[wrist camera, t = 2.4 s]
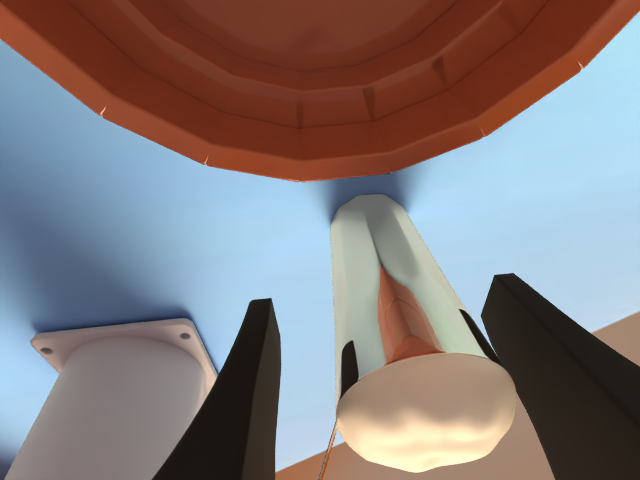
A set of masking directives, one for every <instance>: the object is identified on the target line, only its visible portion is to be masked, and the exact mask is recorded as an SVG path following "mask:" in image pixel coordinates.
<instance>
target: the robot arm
mask: <svg viewBox="0 0 640 480" xmlns="http://www.w3.org/2000/svg"><path fill="white" fill-rule="evenodd" d="M481 318H482V321H483V324H484V326H485V329H486V332H487V334H488V337H489V340H490V342H491V345H492V347H493V349H494V351H495V353H496V354H497V356H498V358H499V360H500V361H501V363H502V364H503V366H504V367H505V369H506V371H507V372H508V374H509V375H510V376H511V378H512V380H513V382H514V385H515V388H516V392H517V394H518V396H519V398H520V400H521V402H522V403H523V405H524V407H525V409H526V411H527V413H528V415H529V417H530V419H531V421H532V423H533V426H534V428H535V430H536V433H537V435H538V437H539V440H540V442H541V445H542V447H543V449H544V452H545V454H546V457H547V459H548V462H549V465H550V467H551V469H552V472H553V475H554V477H555V480H640V367H639V366H638V365H636V364H635V363H633V362H631V361H630V360H628V359H627V358H625V357H624V356H622V355H621V354H619V353H618V352H616V351H615V350H613V349H612V348H610V347H609V346H608V345H606V344H605V343H604V342H602V341H601V340H599V339H598V338H596V337H595V336H594V335H592V334H591V333H589V332H588V331H587V330H585V329H584V328H583V327H581V326H580V325H579V324H577V323H576V322H575V321H573V320H572V319H571V318H569V317H568V316H567V315H566V314H564V313H563V312H562V311H560V310H559V309H558V308H557V307H555V306H554V305H553V304H552V303H550V302H549V301H548V300H547V299H545V298H544V297H543V296H541V295H540V294H539V293H538V292H536V291H535V290H534V289H533V288H532V287H530V286H529V285H528V284H527V283H525V282H524V281H523V280H521V279H520V278H519V277H518V276H516V275H515V274H514V273H510V274H500V275H494V278H493V281H492V284H491V287H490V290H489V293H488V296H487V299H486V301H485V304H484V307H483V310H482V313H481ZM30 343H31V345H32V346H33V347H34V348H35V349H36V350H37V351H38V352H39V353H40V354H41V355H42V356H43V357H44V358H45V359H46V360H47V361H48V362H49V363H50V364H51V365H52V366H53V367H54V368H55V369H56V371H57V372H58V373H59V374H60V375H59V377H58V378H57V380H56V382H55V384H54V386H53V388H52V390H51V392H50V394H49V396H48V397H47V399H46V401H45V403H44V405H43V407H42V409H41V411H40V413H39V414H38V416H37V418H36V420H35V422H34V424H33V426H32V428H31V430H30V431H29V433H28V435H27V437H26V439H25V441H24V443H23V445H22V447H21V449H20V450H19V452H18V454H17V456H16V458H15V460H14V462H13V464H12V466H11V467H10V469H9V471H8V473H7V475H6V477H5V479H4V480H275V441H276V427H277V414H278V401H279V389H280V376H281V343H280V333H279V329H278V325H277V320H276V316H275V312H274V308H273V303H272V299H271V298H268V299H258V300H252V301H251V302H250V303H249V306H248V309H247V312H246V315H245V318H244V320H243V323H242V325H241V328H240V330H239V333H238V335H237V337H236V340H235V342H234V344H233V346H232V349H231V351H230V353H229V355H228V357H227V359H226V361H225V363H224V366H223V368H222V369H221V371H220V373H219V375H217V372H216V370H215V368H214V366H213V364H212V362H211V360H210V358H209V356H208V353H207V351H206V349H205V347H204V345H203V343H202V341H201V339H200V336H199V334H198V332H197V330H196V328H195V326H194V324H193V322H192V321H191V320H189V319H186V318H177V319H167V320H158V321H148V322H139V323H129V324H120V325H111V326H101V327H92V328H82V329H73V330H63V331H54V332H44V333H38V334H35V335H34V336H33V338H32V339H31V341H30Z"/></svg>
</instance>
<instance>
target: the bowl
mask: <svg viewBox="0 0 640 480" xmlns="http://www.w3.org/2000/svg"><path fill="white" fill-rule="evenodd" d="M639 11H640V0H0V39H1V40H2V41H3V42H5V43H6V44H7V45H9V46H10V47H11V48H12V49H14V50H15V51H16V52H18V53H19V54H20V55H22V56H23V57H24V58H25V59H27V60H28V61H29V62H31V63H32V64H33V65H34V66H36V67H37V68H38V69H40V70H41V71H42V72H44V73H45V74H46V75H47V76H49V77H50V78H51V79H53V80H54V81H55V82H56V83H58V84H59V85H60V86H62V87H63V88H64V89H66V90H67V91H68V92H69V93H71V94H72V95H73V96H75V97H76V98H77V99H78V100H80V101H81V102H82V103H84V104H85V105H86V106H88V107H89V108H90V109H91V110H93V111H94V112H95V113H97V114H98V115H100V116H101V115H102V116H103V118H104V119H106V120H108V121H110V122H113V123H115V124H117V125H119V126H121V127H123V128H126V129H128V130H130V131H132V132H134V133H136V134H138V135H141V136H143V137H145V138H147V139H149V140H151V141H154V142H156V143H158V144H160V145H162V146H164V147H166V148H169V149H171V150H173V151H175V152H177V153H179V154H182V155H184V156H186V157H188V158H190V159H192V160H194V161H197V162H199V163H201V164H203V165H206V164H207V166H210V167H216V168H221V169H227V170H233V171H238V172H244V173H250V174H255V175H261V176H266V177H272V178H278V179H283V180H289V181H295V182H300V181H301V182H312V181H322V180H332V179H342V178H351V177H361V176H371V175H381V174H390V173H391V172H397V171H399V170H402V169H404V168H407V167H410V166H412V165H415V164H417V163H420V162H423V161H425V160H428V159H430V158H433V157H436V156H438V155H441V154H443V153H446V152H449V151H451V150H454V149H456V148H459V147H462V146H464V145H467V144H469V143H472V142H475V141H477V140H480V139H482V137H486V136H488V135H489V134H491V133H492V132H493V131H495V130H496V129H498V128H499V127H501V126H502V125H504V124H505V123H507V122H508V121H509V120H511V119H512V118H514V117H515V116H517V115H518V114H520V113H521V112H523V111H524V110H525V109H527V108H528V107H530V106H531V105H533V104H534V103H536V102H537V101H539V100H540V99H541V98H543V97H544V96H546V95H547V94H549V93H550V92H552V91H553V90H555V89H556V88H557V87H559V86H560V85H562V84H563V83H565V82H566V81H568V80H569V79H570V78H572V77H573V76H575V75H576V74H578V73H579V72H580V71H581V69H583V68H585V67H586V66H587V65H588V64H589V63H590V62H591V61H592V60H593V59H594V58H595V57H596V55H597V54H598V53H599V52H600V51H601V50H602V49H603V48H604V47H605V46H606V45H607V44H608V43H609V42H610V41H611V40H612V39H613V38H614V37H615V36H616V35H617V34H618V33H619V32H620V31H621V30H622V29H623V28H624V27H625V26H626V25H627V24H628V23H629V22H630V20H631V19H632V18H633V17H634V16H635V15H636V14H637V13H638V12H639Z"/></svg>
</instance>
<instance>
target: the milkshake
mask: <svg viewBox="0 0 640 480" xmlns="http://www.w3.org/2000/svg"><path fill="white" fill-rule="evenodd" d="M330 244H331V265H332V286H333V306H334V325H335V382H336V422H335V425H334V429H333V432H332V435H331V439H330V442H329V445H328V449H327V452H326V455H325V459H324V462H323V465H322V469H321V472H320V475H319V479H318V480H322V479H323V476H324V472H325V469H326V465H327V462H328V459H329V455H330V452H331V448H332V445H333V442H334V438H335V435H336V431H337V428H338V429H339V432H340V434H341V436H342V437H343V439H344V440H345V441H346V442H347V444H348V445H349V446H350V447H351V448H352V449H353V450H354V451H355V452H357V453H358V454H359V455H360V456H361V457H363V458H365V459H366V460H367V461H371V462H374V463H378V464H382V465H385V466H389V467H393V468H397V469H401V470H405V471H409V472H423V471H426V470H429V469H432V468H435V467H439V466H445V465H452V464H459V463H464V462H469V461H472V460H476V459H479V458H482V457H484V456H486V455H488V454H489V453H490V452H491V451H492V450H493V449H494V448H495V446H496V445H497V443H498V442H499V440H500V439H501V438H502V437H503V436H504V435H505V433H506V432H507V431H508V429H509V428H510V426H511V424H512V421H513V417H514V414H515V408H516V397H517V396H516V388H515V385H514V382H513V380H512V378H511V376H510V375H509V374H508V372H507V371H506V369H505V367H504V366H503V364H502V363H501V361H500V360H499V358H498V357H497V355H496V354H495V352H494V351H493V349H492V348H491V346H490V345H489V343H488V342H487V340H486V339H485V337H484V335H483V334H482V332H481V331H480V329H479V328H478V326H477V325H476V323H475V322H474V320H473V319H472V317H471V316H470V314H469V313H468V311H467V310H466V308H465V307H464V305H463V304H462V302H461V301H460V299H459V297H458V296H457V294H456V293H455V291H454V289H453V288H452V286H451V285H450V283H449V281H448V280H447V278H446V276H445V275H444V273H443V271H442V270H441V268H440V266H439V265H438V263H437V261H436V260H435V258H434V257H433V255H432V253H431V252H430V250H429V248H428V247H427V245H426V244H425V242H424V240H423V239H422V237H421V235H420V234H419V232H418V231H417V229H416V227H415V226H414V224H413V222H412V221H411V219H410V217H409V216H408V214H407V213H406V211H405V209H404V208H403V206H402V205H400V204H398V203H397V202H395V201H394V200H392V199H391V198H389V197H388V196H386V195H385V194H373V195H358V196H357V197H355V198H354V199H352V200H350V201H349V202H347V203H346V204H344V205H342V206H341V207H339V208H338V210H337V212H336V215H335V217H334V219H333V222H332V224H331V226H330Z"/></svg>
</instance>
